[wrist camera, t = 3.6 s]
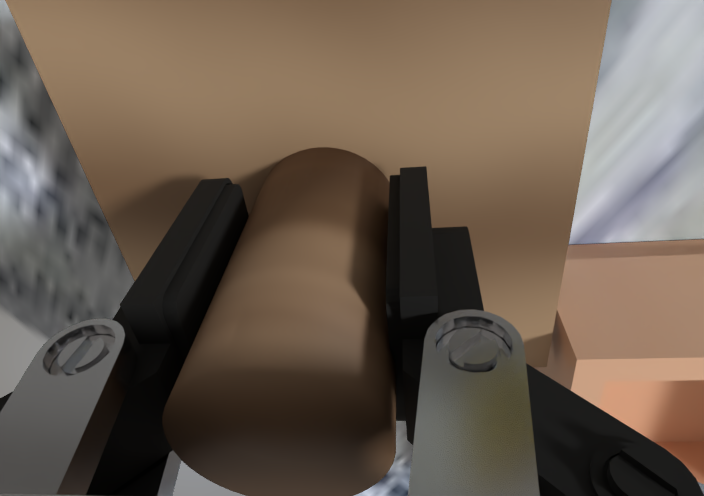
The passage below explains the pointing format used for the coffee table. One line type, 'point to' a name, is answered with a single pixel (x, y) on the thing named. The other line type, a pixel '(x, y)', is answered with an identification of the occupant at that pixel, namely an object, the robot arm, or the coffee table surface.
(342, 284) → the lid
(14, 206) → the coffee table surface
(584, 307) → the open wooden box
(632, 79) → the coffee table surface
